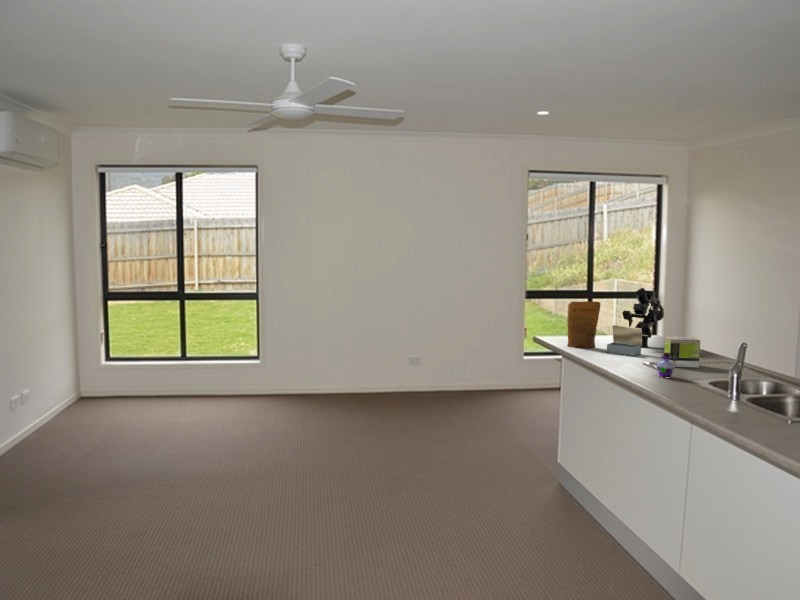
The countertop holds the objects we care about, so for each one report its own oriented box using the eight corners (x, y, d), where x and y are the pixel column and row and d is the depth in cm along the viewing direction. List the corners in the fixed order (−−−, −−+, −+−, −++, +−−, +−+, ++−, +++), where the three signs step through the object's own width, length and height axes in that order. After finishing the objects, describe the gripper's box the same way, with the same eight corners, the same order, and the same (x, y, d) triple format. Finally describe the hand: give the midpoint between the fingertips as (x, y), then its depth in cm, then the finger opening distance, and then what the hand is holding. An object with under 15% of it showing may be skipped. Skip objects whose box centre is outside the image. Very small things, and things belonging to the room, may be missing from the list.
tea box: (692, 364, 337) (694, 336, 336) (699, 368, 328) (701, 340, 326) (663, 363, 339) (664, 335, 337) (669, 367, 329) (671, 339, 327)
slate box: (613, 350, 371) (613, 342, 370) (640, 354, 361) (641, 345, 360) (606, 352, 363) (607, 344, 363) (634, 357, 353) (635, 348, 353)
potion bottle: (655, 378, 303) (657, 353, 301) (654, 374, 311) (656, 350, 309) (675, 379, 300) (676, 355, 298) (674, 376, 308) (675, 351, 306)
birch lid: (613, 342, 370) (613, 341, 371) (641, 345, 360) (642, 345, 361) (612, 325, 367) (612, 325, 368) (641, 329, 357) (641, 328, 357)
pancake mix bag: (599, 349, 374) (601, 302, 371) (566, 347, 377) (568, 301, 373) (596, 347, 381) (599, 300, 378) (564, 345, 383) (566, 299, 380)
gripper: (624, 297, 381) (616, 317, 374) (656, 299, 369) (648, 320, 362) (628, 308, 388) (620, 328, 381) (659, 312, 376) (652, 332, 369)
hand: (635, 327), depth 373 cm, fingers open, 6 cm apart
